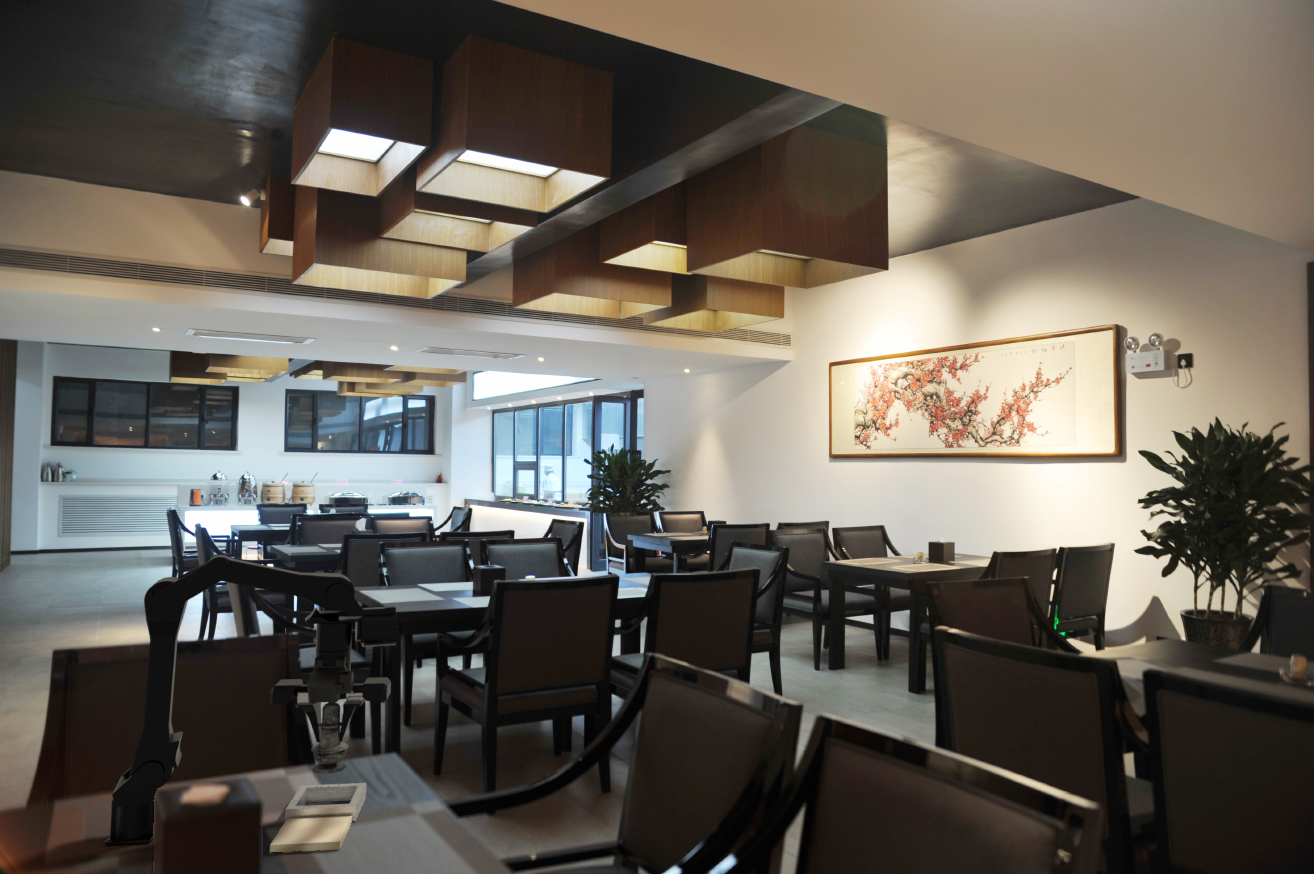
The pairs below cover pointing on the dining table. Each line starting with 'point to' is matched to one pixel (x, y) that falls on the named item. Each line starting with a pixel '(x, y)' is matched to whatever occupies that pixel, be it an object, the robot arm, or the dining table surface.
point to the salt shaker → (329, 742)
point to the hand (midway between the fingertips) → (330, 741)
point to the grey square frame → (324, 794)
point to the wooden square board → (311, 834)
